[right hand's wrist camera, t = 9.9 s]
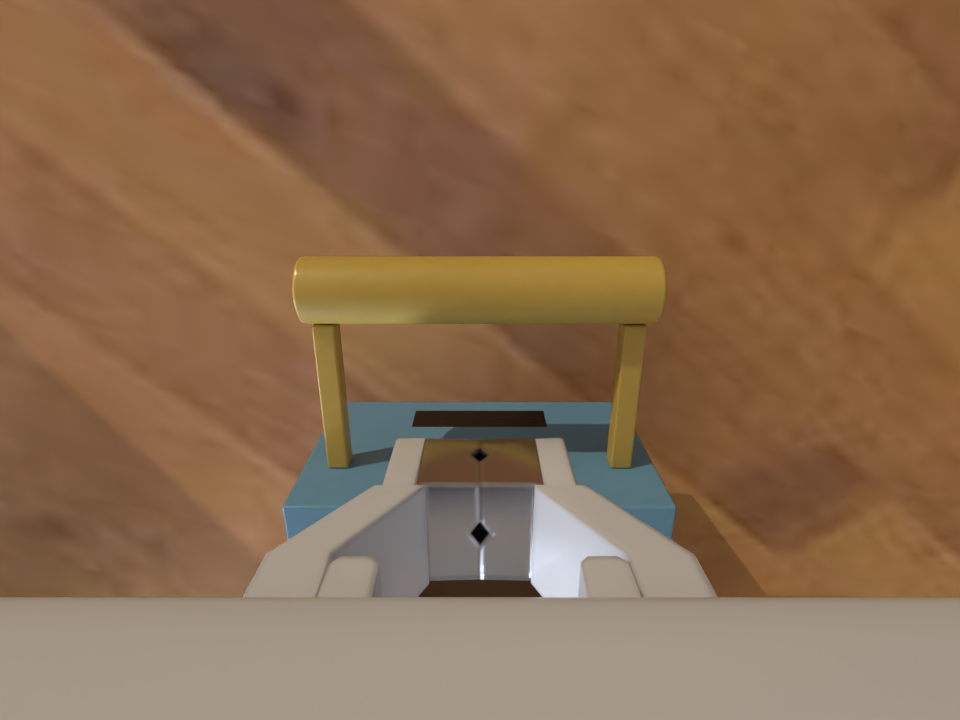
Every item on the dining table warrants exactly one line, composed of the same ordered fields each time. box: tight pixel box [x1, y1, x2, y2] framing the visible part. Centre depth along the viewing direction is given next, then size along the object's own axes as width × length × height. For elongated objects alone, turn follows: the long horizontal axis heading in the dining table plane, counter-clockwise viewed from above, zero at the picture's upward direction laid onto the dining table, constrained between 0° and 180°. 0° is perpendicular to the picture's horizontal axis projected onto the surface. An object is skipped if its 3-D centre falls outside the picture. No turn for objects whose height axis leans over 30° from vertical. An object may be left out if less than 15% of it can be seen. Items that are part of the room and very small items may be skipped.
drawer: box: [282, 256, 676, 597], centre depth 19 cm, size 25×10×6 cm, turn 0°
